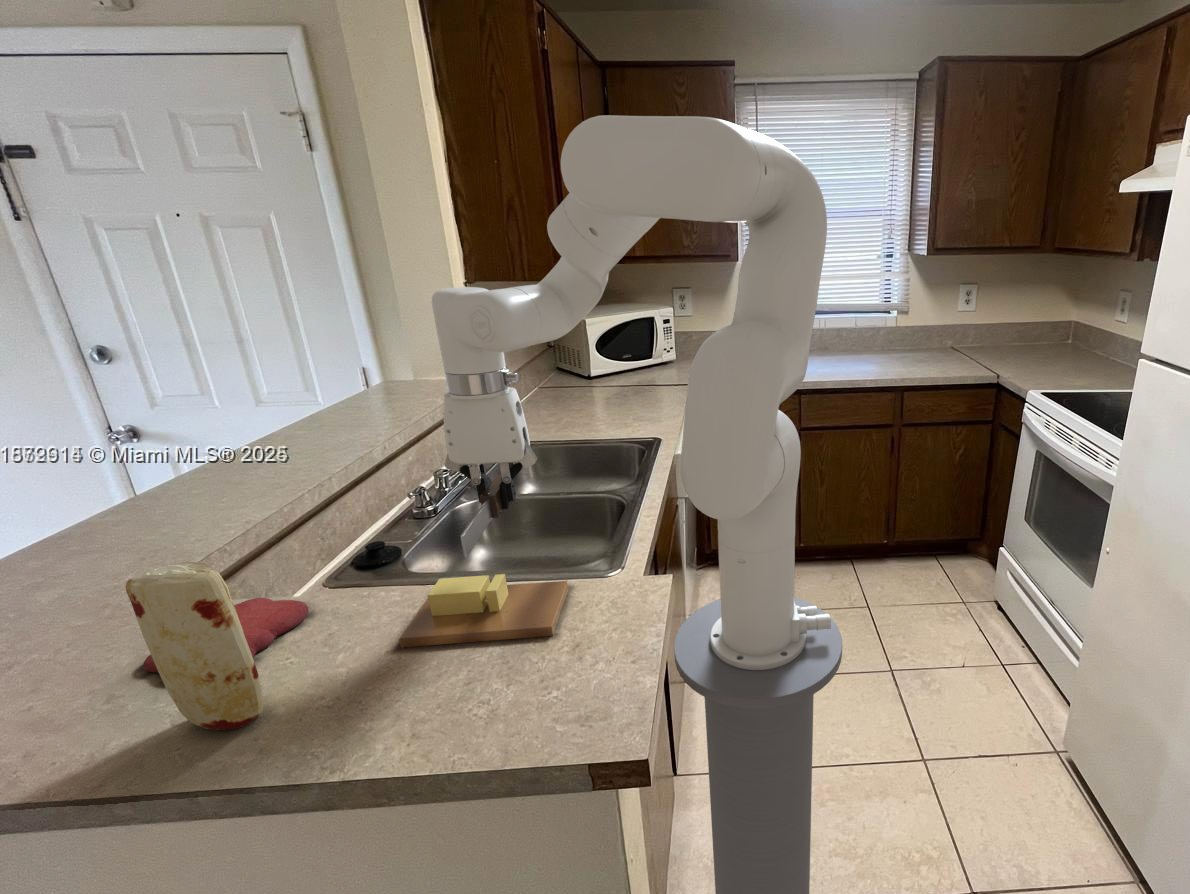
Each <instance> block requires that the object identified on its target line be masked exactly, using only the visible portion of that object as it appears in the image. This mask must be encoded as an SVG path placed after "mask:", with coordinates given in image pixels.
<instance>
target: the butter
mask: <svg viewBox="0 0 1190 894" xmlns="http://www.w3.org/2000/svg"><path fill="white" fill-rule="evenodd" d="M490 583H491V580H490V576H489V574H487V575H476V576H475V575H473V576H457V577H444V578H443V577H442V578H439V579H437V582H435V584H434V585H433V587H432V588H431V590H430V591H429V592H428V594H427V599H428V600H429V604H430V609H431V613H432V616H441V615H455V614H468V613H482V612H484V610H485V608H486V606H487V604H488V599H487V594H486V590H487V588H488V587H489V585H490Z"/></svg>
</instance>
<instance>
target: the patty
mask: <svg viewBox="0 0 1190 894" xmlns="http://www.w3.org/2000/svg"><path fill="white" fill-rule="evenodd" d="M234 607H235V610H236V612H237V615H238V618H239V621H240V624H241V626H242V629H243V632H244V635H245V637H246V640H247V643H248V646H249V649H250V651H251V654H252V657H253V659H254V658H255V657H256V654H257V653H259V652H261V651H263V650H264V649H266V648H268V647H269V646H270V645H271V644H272V643H273V642H274V641H275V640H274V639H276V638H277V637H279V636H281V635H283V634H285V633H286V632H289V631H291V630H292V629H294V628H296V627H297V626H298V625H299V624H301V623H302V622H303V621H304V620H306V618H307V617H308V614H309V611H310V610H309V607H308V605H307V604H306V603H304V602H303V601H299V600H295V599H282V600H281V599H279V600H272V599H270V598H267V597H254V598H251V599H246V600H244V601H242V602H239V603H236V604H234ZM142 667H143V669H144V671H146V672H149V673H158V674H159V672H158V669H157V667H156V665H155V663H154V660H153V658H152V656H151V654H149V655H148V656H147V657H146V658H145V659H144V661H143V664H142Z"/></svg>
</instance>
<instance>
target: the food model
mask: <svg viewBox="0 0 1190 894" xmlns="http://www.w3.org/2000/svg"><path fill="white" fill-rule="evenodd" d="M125 592H126V594H127V597H128V600H129V601H130V604H131V606H132V609H133V612H134V615H135V618H136V620H137V624H138V626H139V629H140V632H141V636H142V638H143V640H144V642H145V644H146V646H147V649H148V652H149V653H150V655H151V656H152V658H153V660H154V663H155V665H156V667H157V669H158V672H159V673H158V672H157V673H158V674H159V676H160V678H161V681H162V683H163V685H164V688H165V689H166V691H167V693H168V695H169V697H170V699H171V700H172V701H173V703H174V705H175V706H176V708H177V709H178V711H179V712H180V713H181V715H182V716H183V717H184V718H186V720H188V722H190V723H192V724H194V725H195V726H197V727H201V728H203V729H205V730H213V731H219V730H221V731H223V730H234V729H240V728H242V727H244V726H246V725H247V726H248V725H249V724H250V723H251V722H252V721H254V720H256V719H257V718H258V717H260V715H262V713H263V709H264V695H263V688H262V682H261V678H260V676H259V672H258V669H257V667H256V662H255V659H254V658H253V657H252V654H251V651H250V649H249V646H248V643H247V640H246V637H245V635H244V632H243V629H242V626H241V624H240V621H239V618H238V615H237V612H236V610H235V607H234V605H235V604H234V601H233V599H232V596H231V593H230V590H229V587H228V584H227V582H226V581H225V580H224V578H223V577H222V575H221V574H220V573H219V572H218V571H217V570H215V569H214V567H212V566H211V565H209V564H208V563H206V562H198V561H197V562H196V561H185V562H179V563H178V562H177V563H173V564H168V565H164V566H161V567H156V568H153V569H151V570H149V571H146V572H144V573H142V574H140V575H137V576H136V577H132V578H129V579H128V580H127V581H126V583H125Z"/></svg>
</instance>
